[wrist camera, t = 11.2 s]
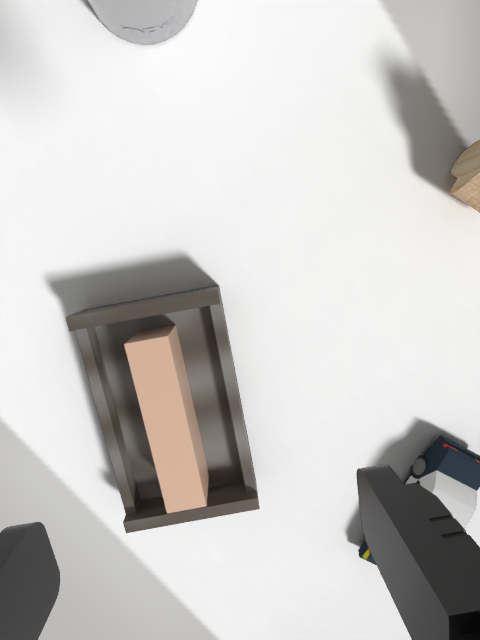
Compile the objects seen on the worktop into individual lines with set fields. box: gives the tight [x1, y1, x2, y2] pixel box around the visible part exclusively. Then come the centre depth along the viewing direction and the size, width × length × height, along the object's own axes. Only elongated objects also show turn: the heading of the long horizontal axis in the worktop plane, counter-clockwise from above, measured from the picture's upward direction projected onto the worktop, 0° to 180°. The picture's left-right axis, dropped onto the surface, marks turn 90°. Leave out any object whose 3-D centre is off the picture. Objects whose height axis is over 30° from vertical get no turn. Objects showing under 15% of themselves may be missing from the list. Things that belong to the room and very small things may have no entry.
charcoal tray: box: [66, 285, 259, 533], centre depth 34 cm, size 21×13×4 cm, turn 10°
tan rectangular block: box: [124, 325, 209, 514], centre depth 32 cm, size 16×4×4 cm, turn 10°
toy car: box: [358, 436, 480, 565], centre depth 37 cm, size 5×16×5 cm, turn 151°
